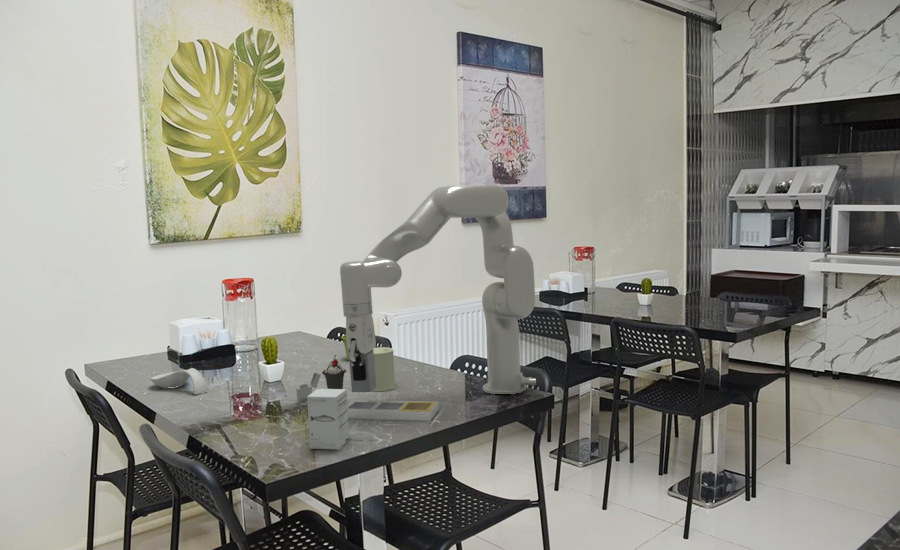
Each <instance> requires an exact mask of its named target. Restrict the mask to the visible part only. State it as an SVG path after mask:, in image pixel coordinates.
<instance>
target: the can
mask: <svg viewBox="0 0 900 550" xmlns="http://www.w3.org/2000/svg"><path fill="white" fill-rule="evenodd" d="M394 350H395V349H394V348H392V347H388V346H387V347H385V346H383V347H382V346H381V347H379V346H378V347H375V348H374V349H373V352H374V365H375V378H376V388H374V389H373V390H372V391H371V392H386V391H390V390H393V389H395V388H396V380H395V378H396V377H395V364H394V363H395V362H394V361H395V360H394V352H395V351H394Z"/></svg>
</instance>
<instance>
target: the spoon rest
mask: <svg viewBox="0 0 900 550" xmlns="http://www.w3.org/2000/svg"><path fill="white" fill-rule="evenodd" d="M189 378H190V379H191V381H192V386H193V395H194V394H198V393H202V392H206V391H208V392H209V388H208V384H207V381H206V380H205V377H203V375H202V374H201V373H200V372H199V371H198V370H197V369H196V368H193V367H190V368H188V369H186V370H185V369H184V370H183V369H182V370H179V371H178V370H177V371H172V372H168V373H163V374H159V375H155V376H152V377H151V378H150V381H151V382H152V384H154V385H155V386H157V387H159V388H161V387H163V388H168V387H176V386H180V385H185V384H186V383H187V382H188V381H189ZM163 388H162V389H163ZM206 393H207V392H206ZM202 394H203V393H202ZM198 395H199V394H198Z"/></svg>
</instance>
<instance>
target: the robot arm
mask: <svg viewBox="0 0 900 550" xmlns="http://www.w3.org/2000/svg"><path fill="white" fill-rule="evenodd" d="M509 203H510V198H509V193H508V192H507V190H506V189H504V188H503V187H502V186H500V185H498V184H491V185H490V184H489V185H488V184H486V185H445V186H439V187H437V188H435V189H434V190H432V192H430V194H429V195H428V196H427V197H426V198H425V199H424V200H423V202H422V203H420V205H419V206H418V207H417V208H416V209H415V210H414V212H413V213H412V214H411V215H410V216H409V217H408V218H407V219H406V221H404V222H403V223H402V224H401V225H400V226H398V227H397V228H396V229H394V230H393V231H392V232H391V233H390V234H388V235H387V236H386V237H384V238H383V239H382V240H381V241H380V242H378V243H377V245H376V246H374V248H373V249H372V250H371V251H370V252H369V253H368V254H367V256H366V257H365V258H364V260H362V261H361V260H356V261H355V260H353V261H347V262H343V263H341V265H340V267H339V268H340V269H339V274H340V287H341V288H340V289H341V299H342V310H343V317H345V335H346V341H347V350H348V353H349V358H350V359H351V361H352V370H353V380H354V381H364V380H365V379H366V377H365V365H363V354H367V353H368V352H370V351H371V350H373V349H374V348H377V347H376V346H377V342H376V341H377V340H376V331H375V323H374V318H373V314H374V312H373V300H372V288H391V287H393V286H395V285H397V284H398V283H399V282H400V280H401V278H402V274H403V272H402V268H401V266H400V264H399V263H398V261H400V260H402V258H403V257H405V256H406V255H408V254H410V253H412V252H415V251H417V250H420V249H421V248H423V247H425V246H427V245H429V243H430V242H431V241H432V240H433V239H434V238H435V237H436V235H437V234H438V233H439V232H440V231H441V230H442V228H444V226H445V225H446V224H447V223H448V222H449V220H450V219H452V218H453V219H455V218H456V219H458V218H460V219H462V218H463V219H465V218H466V219H471V218H474V219H475V220H476V221H477V222H478V224H479V226H480V228H481V232H482V233H481V234H482V242H483V259H484V260H483V261H484V268H485V271H486V272H487V274H488V275H489V276H491V277H494V278H498V279H503V281H496V282H492V283H490V284H489V285H488V286H486V287H485V289H484V291H483V293H482V297H481V298H482V299H481V300H482V301H481V302H482V309H483V313H484V318H485V331H486V355H487V356H486V359H487V383H484V385H482V390H483V392H484V393H487V394H489V393H490V394H491V395H495V394H511V395H517V394H516V393H518V394H522V393H523V391H524V392H525V391H526V390H527V385H529V386H536V385H537V380H536V379H537V378H535V377H533V376H532V377H531V376H528V377H526V376H524V374H523V372H521V352H520V351H521V348H520V347H521V346H520V326H519V321H518V320H520V319H525V318H527V317H529V316H530V315H531V313H532V312H533V310H534V308H535V303H536V286H535V284H536V283H535V270H534V262H533V261H534V260H533V258H532V255H531V254H530V253H529V251H528V250H527V249H526V248H524V247H522V246H519V245H515V244H514V236H513V226H512V224H511V219H510V217H509V215H508V214H507V211H506V210H507V209H508V206H509V205H510V204H509ZM356 351H360V353H356ZM356 356H360V359H359V358H358V357H356Z"/></svg>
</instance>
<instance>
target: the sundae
mask: <svg viewBox="0 0 900 550" xmlns="http://www.w3.org/2000/svg"><path fill="white" fill-rule="evenodd" d="M336 357H337V354H335V355H334V356H333V360H332V361H330V363H329V364H328V367H326V369H324V370H323V371H322V372H321V375H324V377H325V383H326V389H344V377H345V374H346V372H347V371H348V370H346V369H345V368H343V366H342V364H341V362H339V361H338V359H336Z"/></svg>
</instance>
